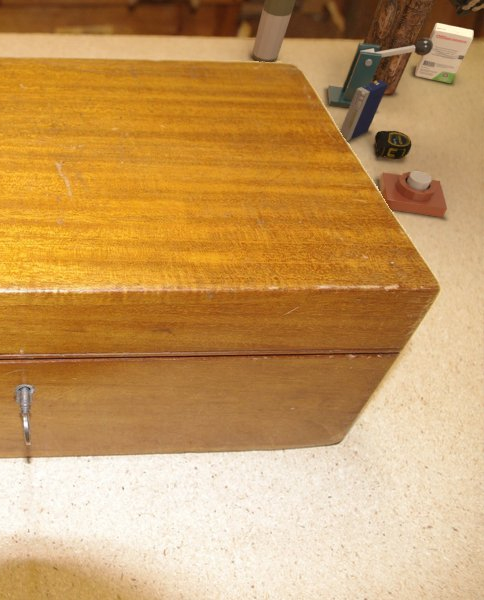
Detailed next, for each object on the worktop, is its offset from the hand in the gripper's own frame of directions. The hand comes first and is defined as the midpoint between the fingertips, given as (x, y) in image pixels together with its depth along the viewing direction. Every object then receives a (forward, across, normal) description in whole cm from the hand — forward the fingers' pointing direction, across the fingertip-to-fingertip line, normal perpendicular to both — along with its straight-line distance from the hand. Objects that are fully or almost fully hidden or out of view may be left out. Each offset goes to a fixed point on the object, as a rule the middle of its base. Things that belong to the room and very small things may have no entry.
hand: (461, 11), depth 134 cm
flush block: (+3, +1, +36) cm, 36 cm away
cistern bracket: (+28, +10, +11) cm, 32 cm away
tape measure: (+14, +4, +26) cm, 29 cm away
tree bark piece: (+37, +4, +3) cm, 37 cm away
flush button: (+1, +1, +34) cm, 34 cm away
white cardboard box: (+40, -10, -1) cm, 42 cm away
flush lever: (+20, +4, +3) cm, 21 cm away
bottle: (+39, +30, +1) cm, 49 cm away
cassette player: (+18, +11, +22) cm, 30 cm away
